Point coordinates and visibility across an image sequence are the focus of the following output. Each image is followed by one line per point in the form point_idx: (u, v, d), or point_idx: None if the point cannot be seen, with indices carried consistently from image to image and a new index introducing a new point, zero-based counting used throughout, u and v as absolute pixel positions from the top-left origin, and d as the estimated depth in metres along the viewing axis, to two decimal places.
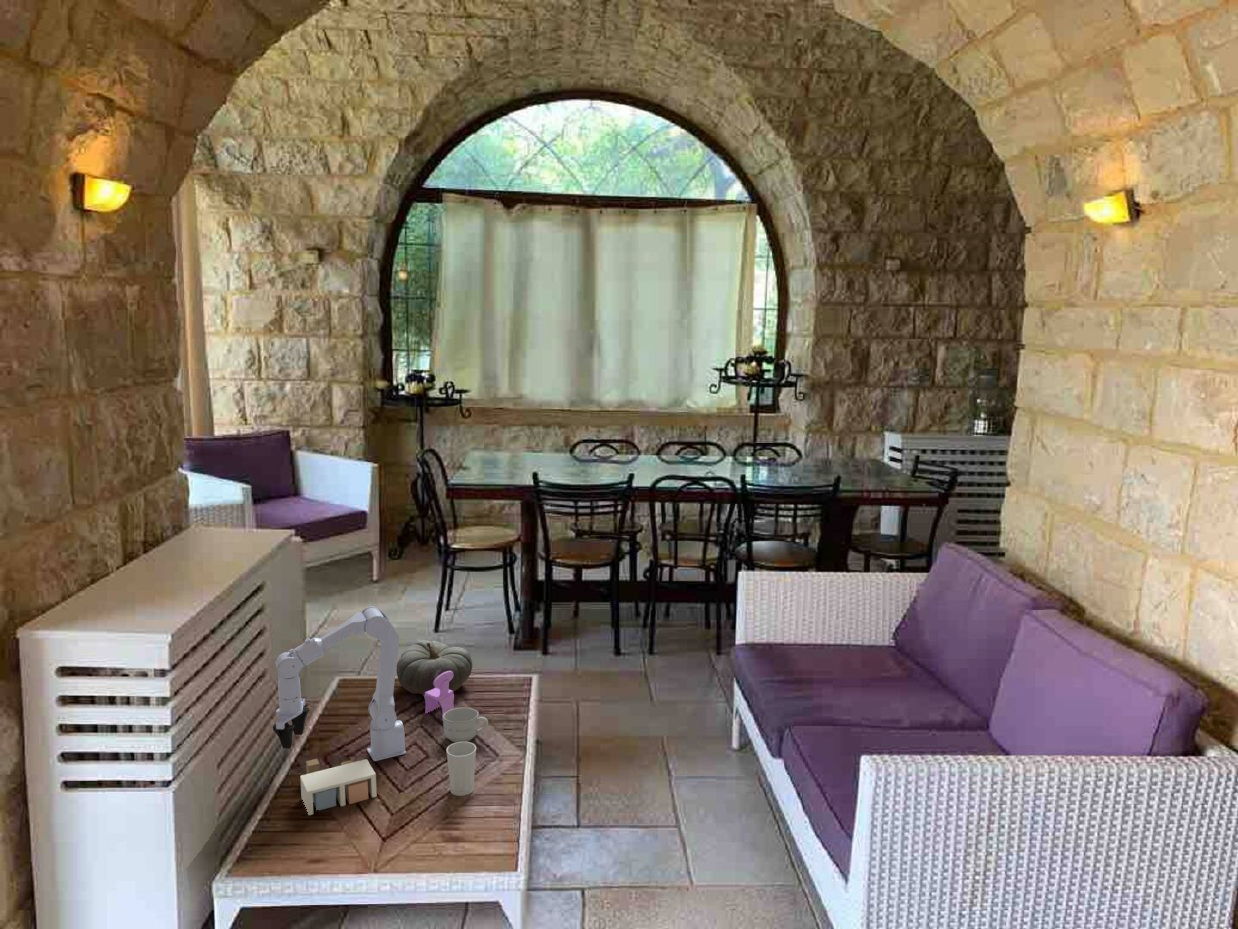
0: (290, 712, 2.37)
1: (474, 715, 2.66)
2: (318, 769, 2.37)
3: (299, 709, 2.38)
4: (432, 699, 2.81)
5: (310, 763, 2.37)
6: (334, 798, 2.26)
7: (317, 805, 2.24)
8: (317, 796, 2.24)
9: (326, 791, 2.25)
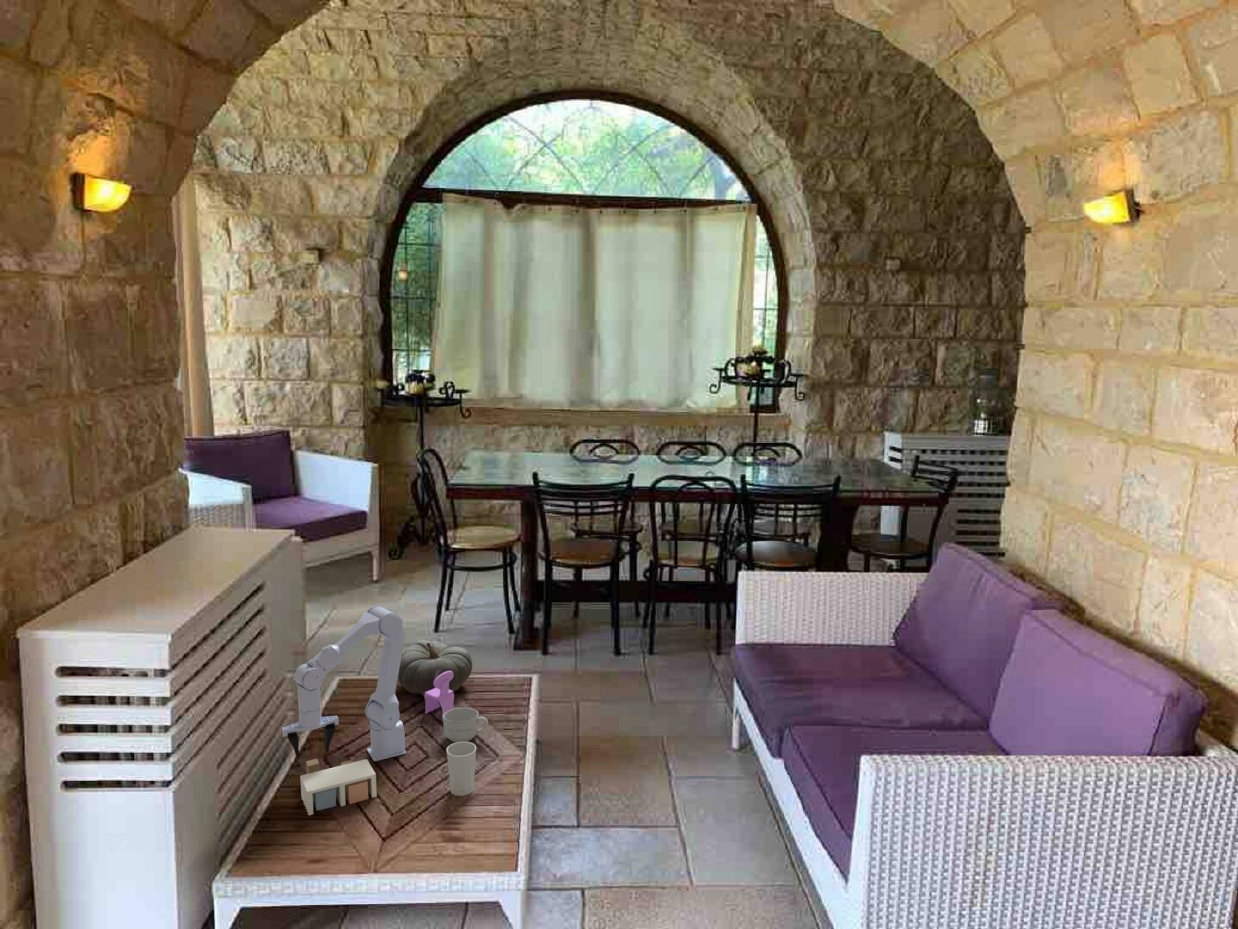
0: (301, 724, 2.33)
1: (474, 715, 2.66)
2: (318, 769, 2.37)
3: (310, 725, 2.33)
4: (432, 699, 2.81)
5: (310, 763, 2.37)
6: (334, 798, 2.26)
7: (317, 805, 2.24)
8: (317, 796, 2.24)
9: (326, 791, 2.25)
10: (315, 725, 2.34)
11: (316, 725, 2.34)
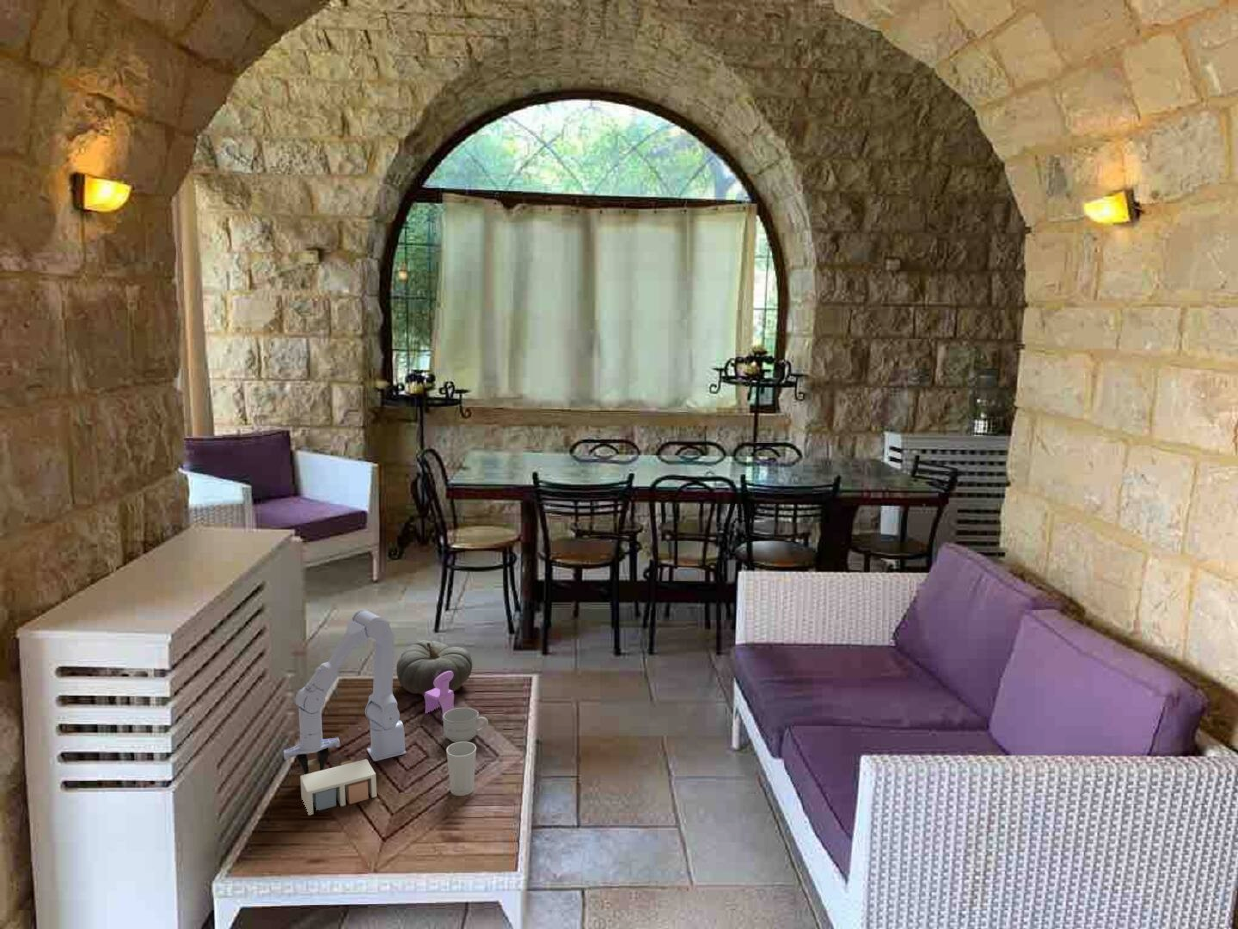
0: (302, 747, 2.34)
1: (474, 715, 2.66)
2: (318, 769, 2.37)
3: (311, 748, 2.34)
4: (432, 699, 2.81)
5: (310, 763, 2.37)
6: (334, 798, 2.26)
7: (317, 805, 2.24)
8: (317, 796, 2.24)
9: (326, 791, 2.25)
10: (316, 748, 2.35)
11: (317, 748, 2.35)
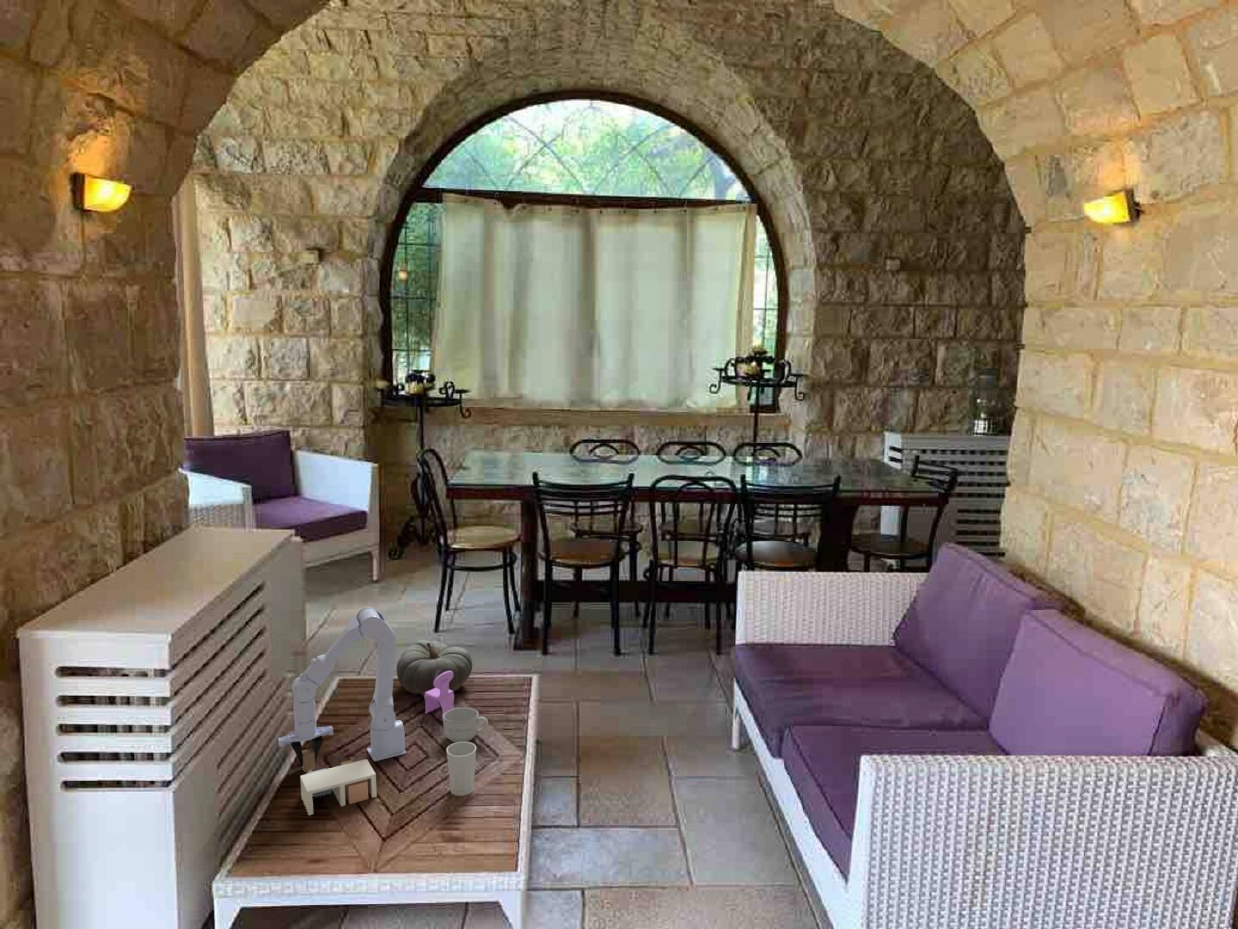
0: (297, 734, 2.41)
1: (474, 715, 2.66)
2: (313, 758, 2.43)
3: (305, 735, 2.41)
4: (432, 699, 2.81)
5: (305, 752, 2.43)
6: None
7: None
8: None
9: None
10: (310, 736, 2.41)
11: (311, 736, 2.42)
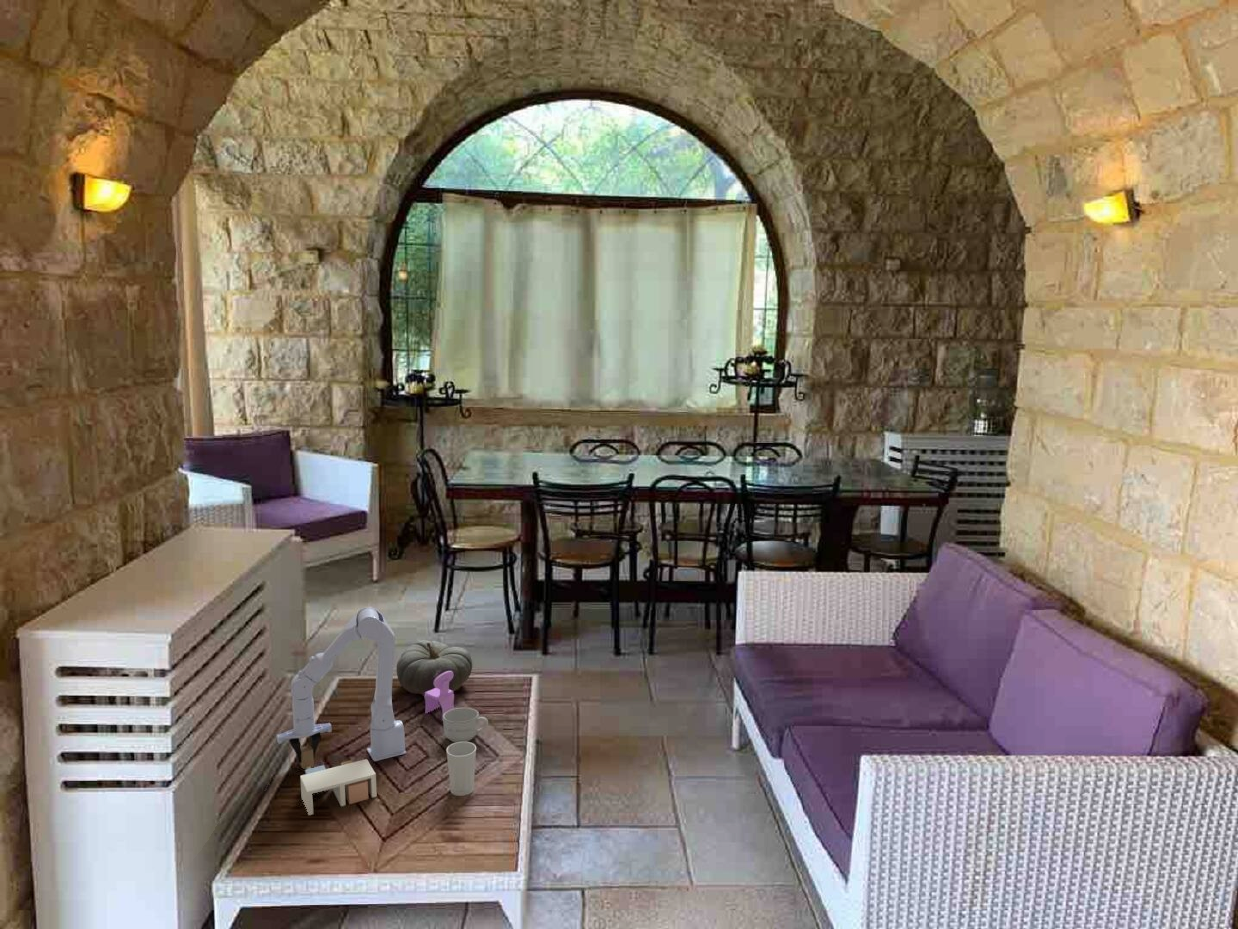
0: (295, 731, 2.43)
1: (474, 715, 2.66)
2: (312, 755, 2.45)
3: (304, 732, 2.43)
4: (432, 699, 2.81)
5: (304, 749, 2.44)
6: None
7: None
8: None
9: None
10: (309, 732, 2.43)
11: (310, 732, 2.43)
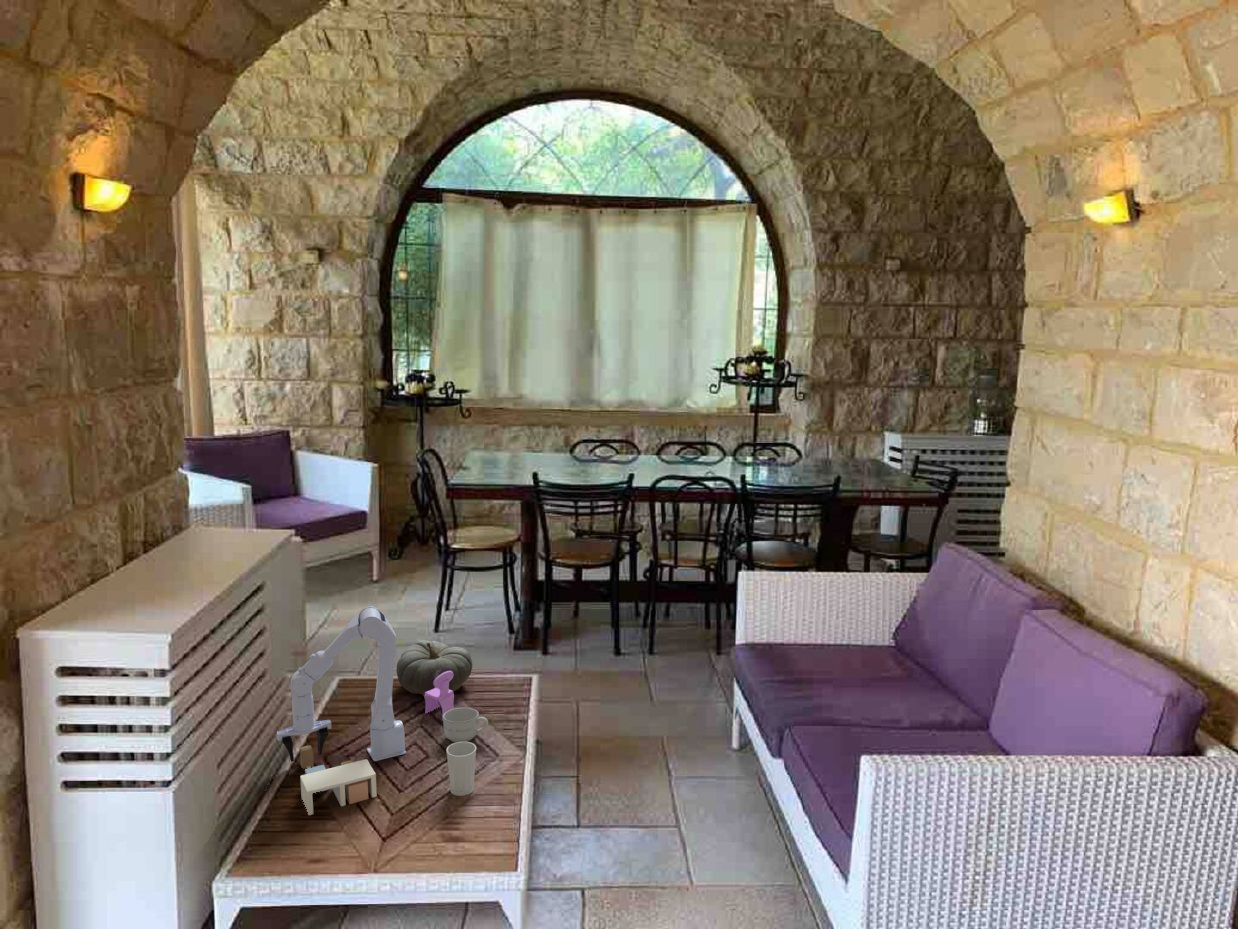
0: (295, 728, 2.43)
1: (474, 715, 2.66)
2: (311, 755, 2.45)
3: (303, 729, 2.43)
4: (432, 699, 2.81)
5: (304, 749, 2.45)
6: None
7: None
8: None
9: None
10: (308, 729, 2.43)
11: (309, 729, 2.44)
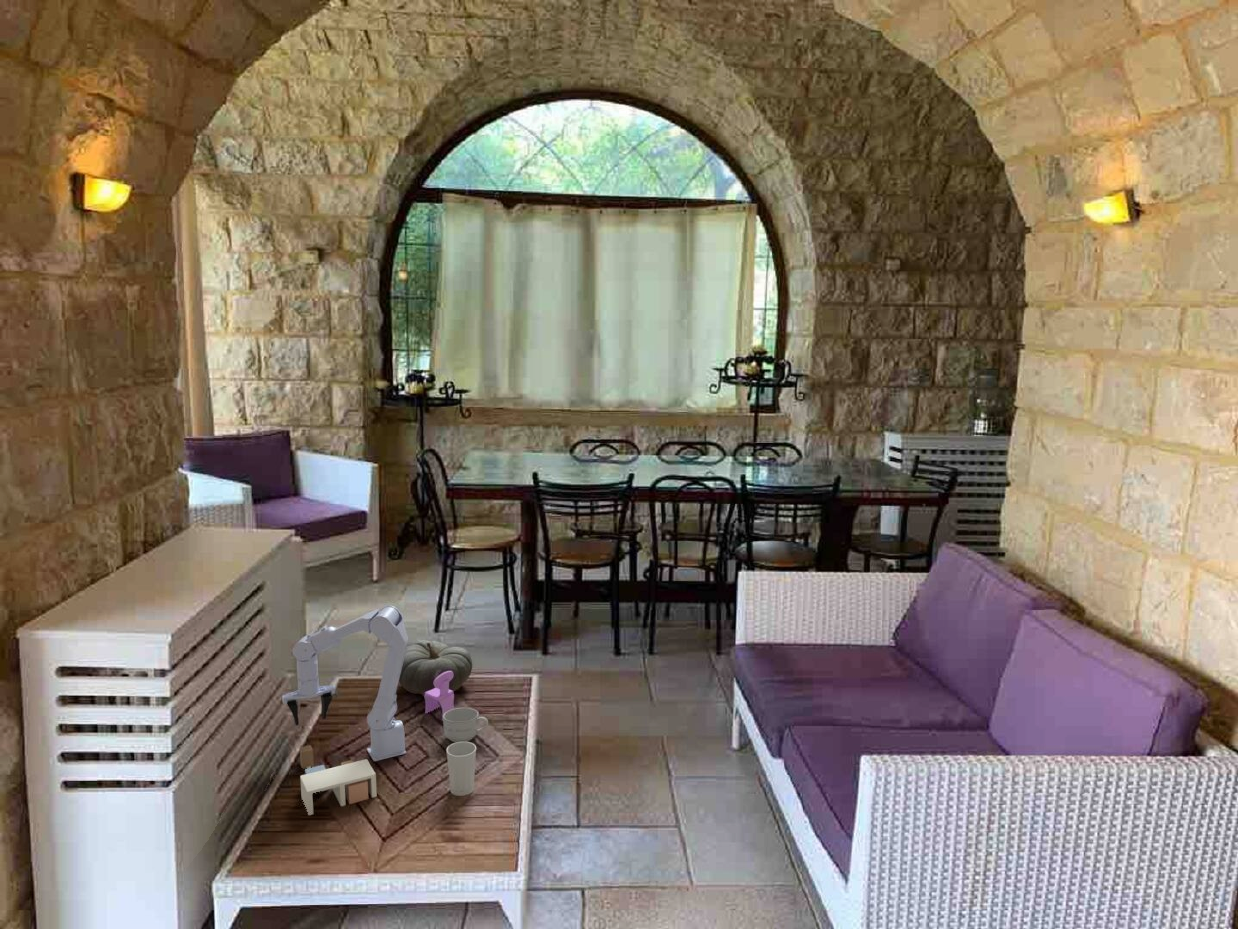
0: (300, 692, 2.49)
1: (474, 715, 2.66)
2: (311, 755, 2.45)
3: (308, 693, 2.49)
4: (432, 699, 2.81)
5: (304, 749, 2.45)
6: None
7: None
8: None
9: None
10: (313, 693, 2.50)
11: (314, 693, 2.50)
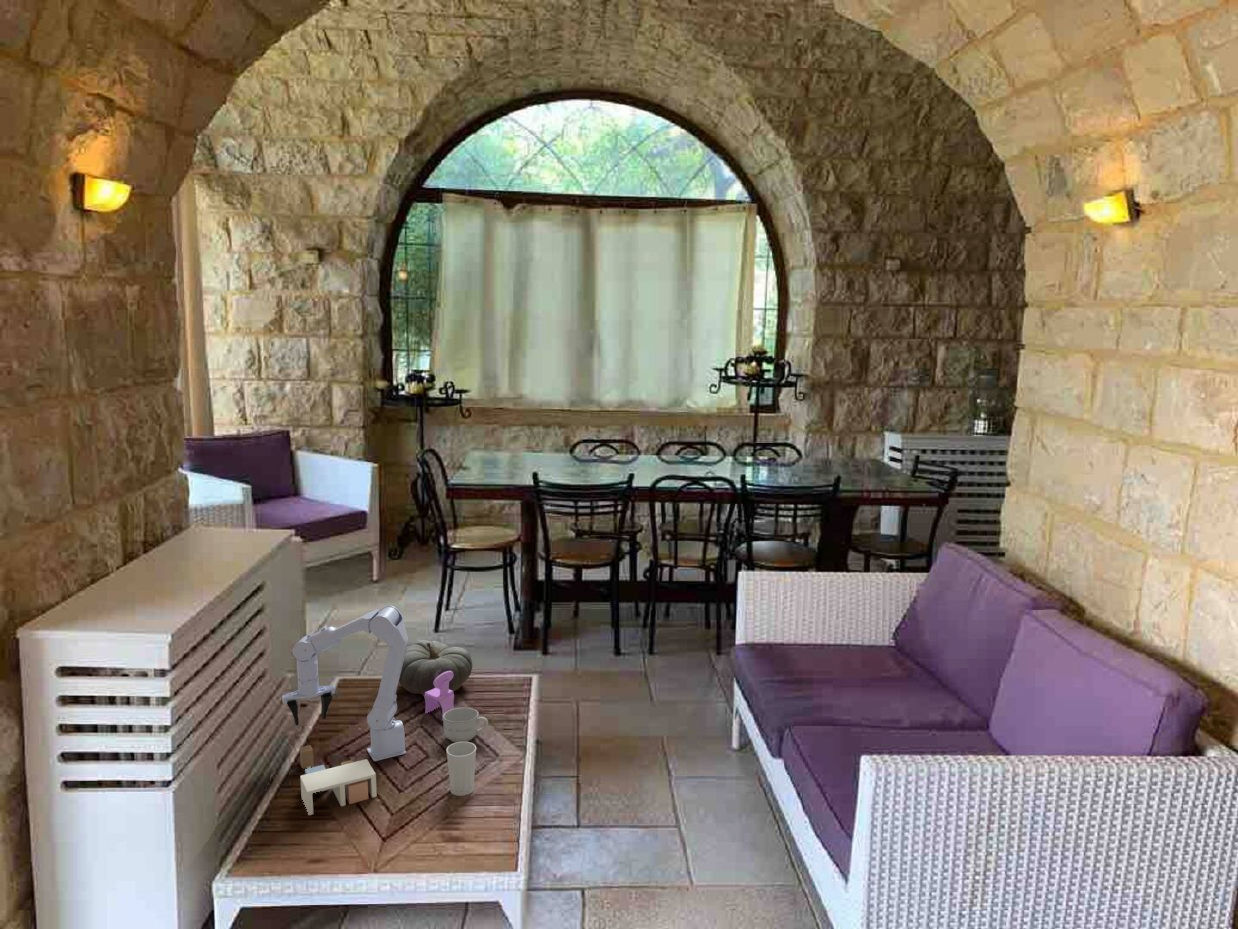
0: (300, 692, 2.49)
1: (474, 715, 2.66)
2: (311, 755, 2.45)
3: (308, 693, 2.49)
4: (432, 699, 2.81)
5: (304, 749, 2.45)
6: None
7: None
8: None
9: None
10: (313, 693, 2.50)
11: (314, 693, 2.50)
